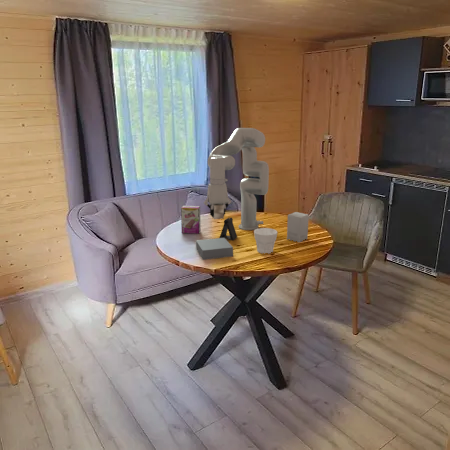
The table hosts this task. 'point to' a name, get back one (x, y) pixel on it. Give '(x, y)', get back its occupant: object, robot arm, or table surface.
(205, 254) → the slate block
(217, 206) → the cream block
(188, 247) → the table surface
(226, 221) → the phone stand
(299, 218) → the supplement box
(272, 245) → the cup
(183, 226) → the candy bar box
